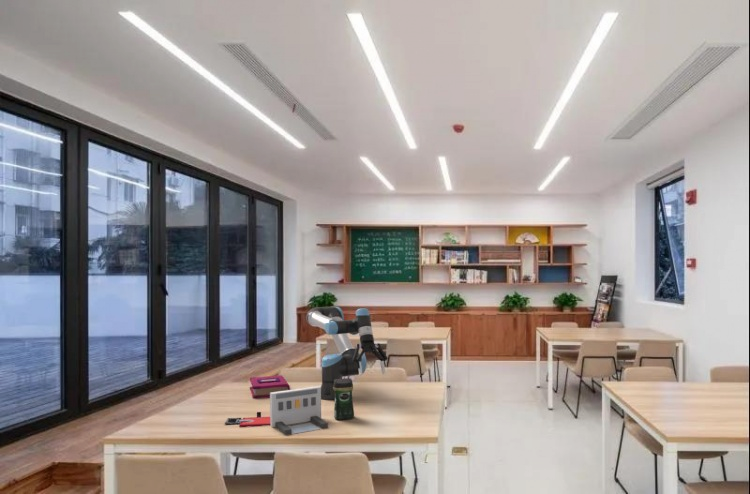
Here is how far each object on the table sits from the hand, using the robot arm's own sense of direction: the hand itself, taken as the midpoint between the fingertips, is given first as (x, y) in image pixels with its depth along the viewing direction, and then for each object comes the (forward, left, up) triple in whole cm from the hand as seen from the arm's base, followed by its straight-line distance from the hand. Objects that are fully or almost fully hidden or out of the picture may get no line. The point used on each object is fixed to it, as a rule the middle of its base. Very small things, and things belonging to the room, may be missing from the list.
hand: (372, 374), depth 261 cm
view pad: (+19, -46, -16) cm, 52 cm away
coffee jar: (+14, -23, -16) cm, 31 cm away
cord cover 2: (+17, -37, -16) cm, 44 cm away
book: (-61, -38, -17) cm, 74 cm away
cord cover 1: (+17, -54, -16) cm, 59 cm away
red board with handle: (-3, -60, -17) cm, 63 cm away
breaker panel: (+8, -45, -16) cm, 49 cm away
